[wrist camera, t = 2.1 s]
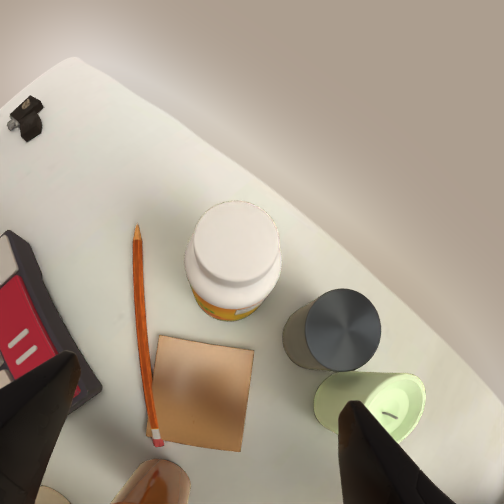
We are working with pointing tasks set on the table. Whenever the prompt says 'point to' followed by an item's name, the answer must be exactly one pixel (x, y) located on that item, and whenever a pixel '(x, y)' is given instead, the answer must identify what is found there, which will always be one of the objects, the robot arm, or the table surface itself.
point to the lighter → (27, 118)
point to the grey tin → (333, 332)
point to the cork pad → (201, 393)
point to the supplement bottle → (233, 259)
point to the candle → (373, 399)
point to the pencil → (143, 336)
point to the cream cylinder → (50, 496)
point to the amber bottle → (155, 484)
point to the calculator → (32, 321)
